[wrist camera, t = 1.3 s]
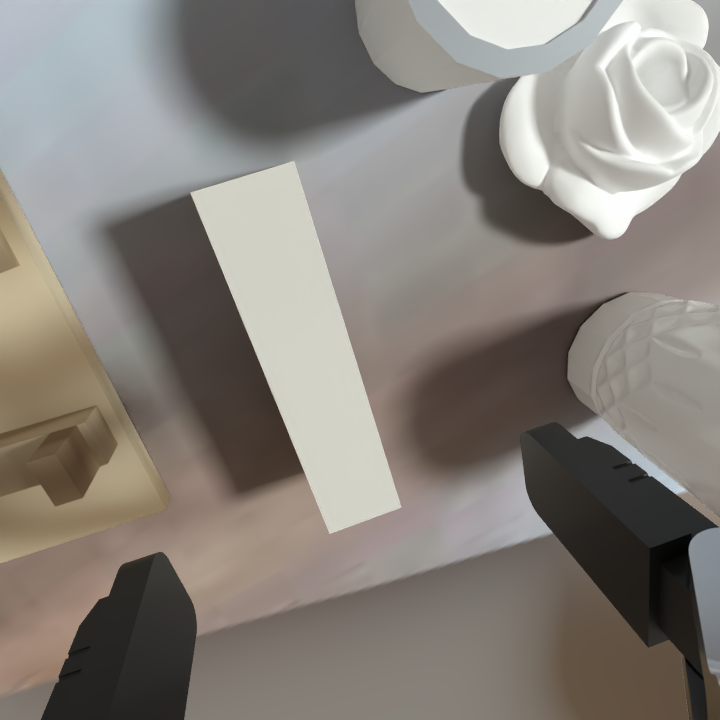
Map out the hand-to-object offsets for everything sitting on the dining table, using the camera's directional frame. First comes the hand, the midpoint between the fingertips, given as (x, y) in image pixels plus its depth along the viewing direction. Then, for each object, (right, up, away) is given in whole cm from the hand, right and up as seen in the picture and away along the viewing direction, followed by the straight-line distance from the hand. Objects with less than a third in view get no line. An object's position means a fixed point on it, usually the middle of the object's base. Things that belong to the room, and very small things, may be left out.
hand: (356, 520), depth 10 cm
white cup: (+14, +4, +15) cm, 21 cm away
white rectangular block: (-3, +5, +11) cm, 12 cm away
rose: (+10, +14, +10) cm, 20 cm away
